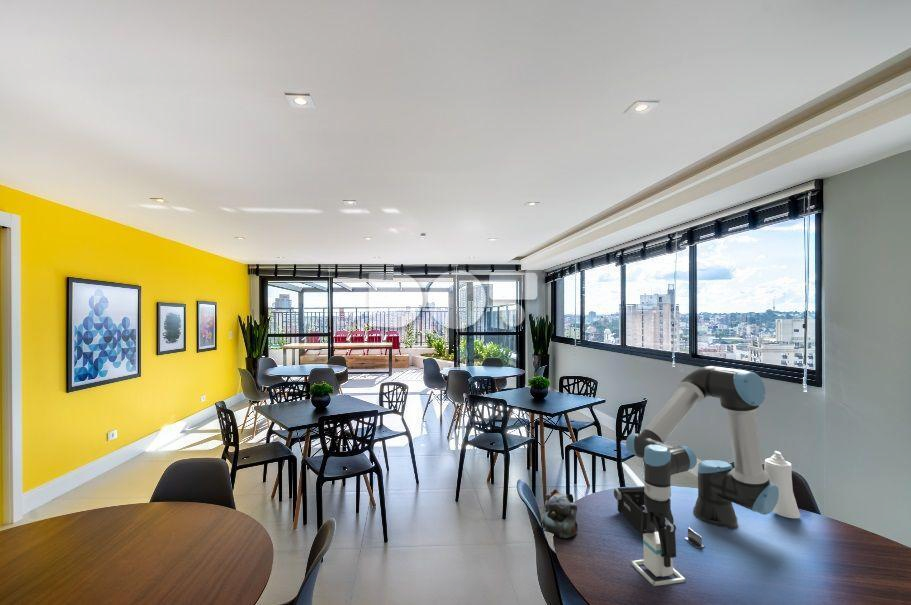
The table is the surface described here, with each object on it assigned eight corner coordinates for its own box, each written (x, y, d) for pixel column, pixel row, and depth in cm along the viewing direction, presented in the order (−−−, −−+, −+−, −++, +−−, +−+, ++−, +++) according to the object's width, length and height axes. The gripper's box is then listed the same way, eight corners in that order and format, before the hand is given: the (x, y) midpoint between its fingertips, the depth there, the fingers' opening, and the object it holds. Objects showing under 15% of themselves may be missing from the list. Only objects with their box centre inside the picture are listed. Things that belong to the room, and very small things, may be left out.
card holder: (691, 537, 149) (691, 527, 149) (704, 547, 143) (704, 536, 143) (684, 538, 149) (684, 528, 149) (697, 548, 143) (697, 537, 143)
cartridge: (659, 561, 132) (659, 531, 132) (673, 573, 126) (673, 542, 126) (643, 564, 131) (642, 533, 131) (656, 576, 125) (655, 544, 125)
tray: (660, 562, 135) (660, 556, 135) (685, 584, 125) (685, 578, 125) (631, 566, 133) (631, 560, 133) (653, 590, 122) (653, 583, 122)
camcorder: (613, 509, 170) (613, 485, 170) (654, 507, 172) (654, 484, 172) (638, 537, 150) (638, 510, 150) (685, 534, 152) (685, 508, 152)
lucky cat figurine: (533, 526, 157) (535, 489, 158) (553, 517, 165) (554, 483, 165) (565, 544, 145) (566, 505, 146) (585, 534, 153) (586, 497, 153)
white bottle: (791, 522, 159) (790, 459, 159) (760, 510, 169) (760, 450, 169) (804, 514, 165) (804, 453, 165) (773, 503, 174) (773, 445, 174)
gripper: (628, 483, 137) (628, 551, 138) (668, 512, 119) (668, 590, 119) (647, 481, 139) (648, 548, 139) (690, 509, 120) (690, 587, 120)
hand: (657, 568), depth 129 cm, fingers open, 6 cm apart
